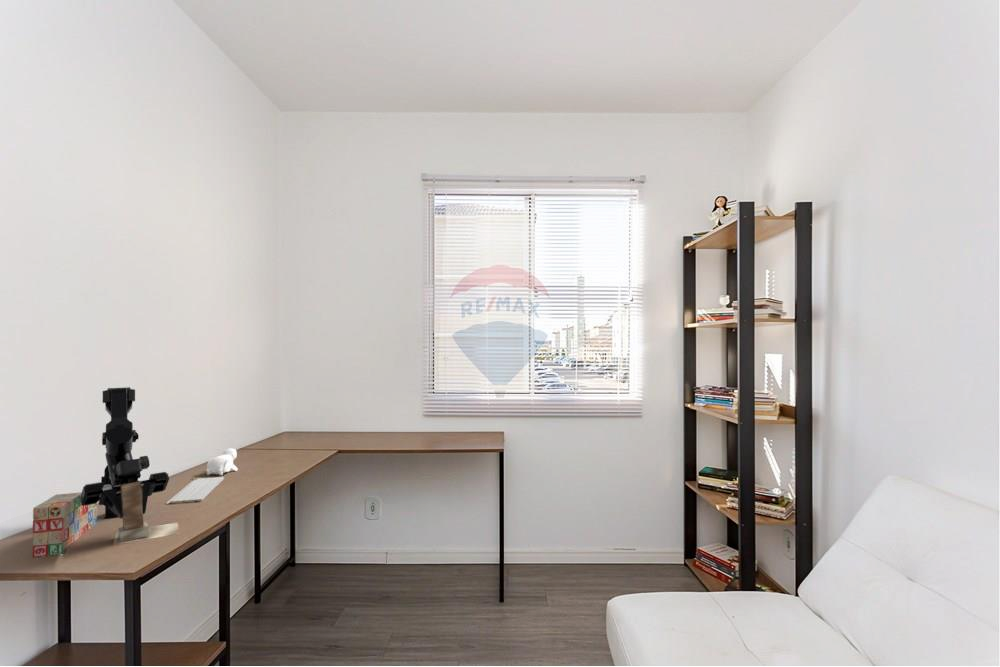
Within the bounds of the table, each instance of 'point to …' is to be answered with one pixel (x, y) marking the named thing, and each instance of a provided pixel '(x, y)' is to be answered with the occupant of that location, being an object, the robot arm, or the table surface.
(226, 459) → the white lumpy figurine
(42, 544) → the stack of blocks
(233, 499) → the table surface
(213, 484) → the baseboard molding
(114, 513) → the robot arm
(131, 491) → the block
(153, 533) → the board
